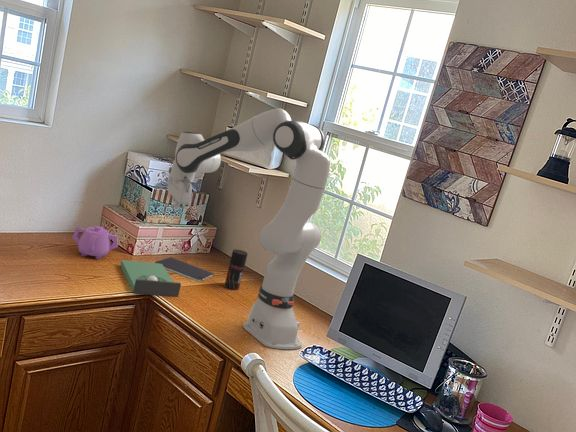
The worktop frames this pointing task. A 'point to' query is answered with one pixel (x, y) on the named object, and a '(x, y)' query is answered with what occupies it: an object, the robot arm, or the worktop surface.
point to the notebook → (185, 269)
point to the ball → (152, 278)
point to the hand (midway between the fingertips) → (175, 209)
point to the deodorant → (235, 269)
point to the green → (140, 285)
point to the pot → (94, 241)
